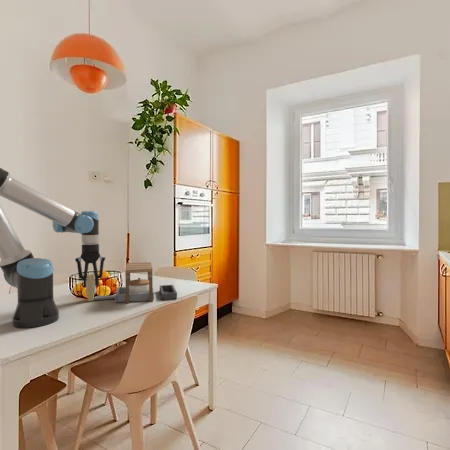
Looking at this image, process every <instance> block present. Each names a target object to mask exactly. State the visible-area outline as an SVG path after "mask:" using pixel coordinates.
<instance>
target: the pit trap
mask: <svg viewBox="0 0 450 450" xmlns="http://www.w3.org/2000/svg"><path fill="white" fill-rule="evenodd" d="M159 293H160V297H161V300H162V301H164V300H165V301H166V300H177V299H178V292H177V290H176V288H175V286H174V284H164V285H162V284H161V285H159Z"/></svg>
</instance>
